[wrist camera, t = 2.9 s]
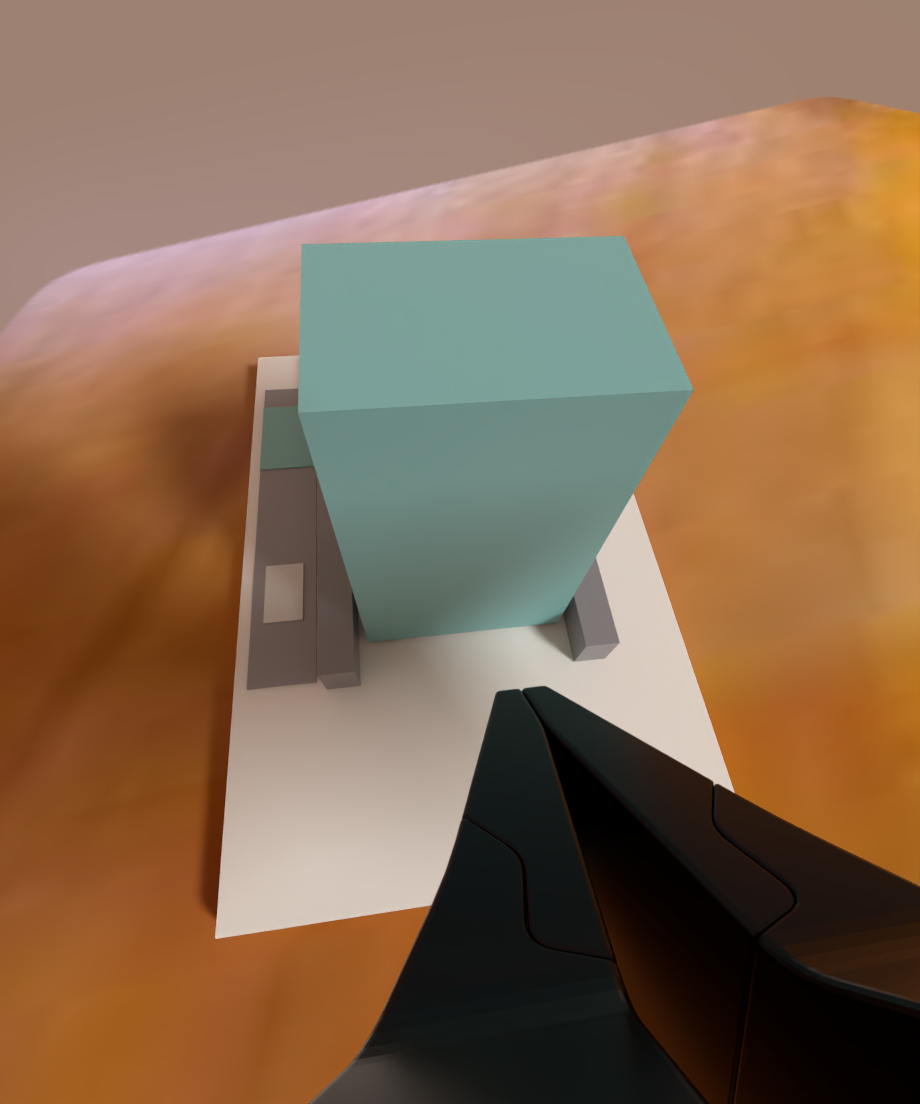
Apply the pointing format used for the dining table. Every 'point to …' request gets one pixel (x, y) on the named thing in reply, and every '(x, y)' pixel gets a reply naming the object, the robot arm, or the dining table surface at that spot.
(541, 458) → the switch tab
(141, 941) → the dining table surface
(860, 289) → the dining table surface
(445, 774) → the white rail base plate
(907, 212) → the dining table surface
